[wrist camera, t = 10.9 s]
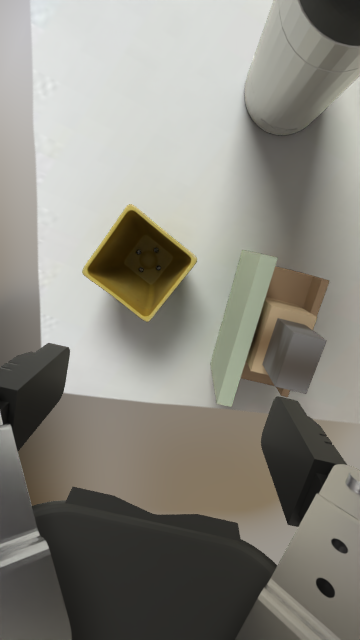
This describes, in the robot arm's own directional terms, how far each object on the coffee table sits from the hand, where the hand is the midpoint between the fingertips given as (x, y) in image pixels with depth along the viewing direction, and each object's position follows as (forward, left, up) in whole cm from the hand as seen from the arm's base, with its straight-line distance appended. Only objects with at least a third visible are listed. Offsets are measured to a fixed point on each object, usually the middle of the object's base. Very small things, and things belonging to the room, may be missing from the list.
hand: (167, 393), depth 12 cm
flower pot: (-2, -5, -30) cm, 31 cm away
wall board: (+2, +10, -30) cm, 32 cm away
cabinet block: (+2, +11, -25) cm, 27 cm away
